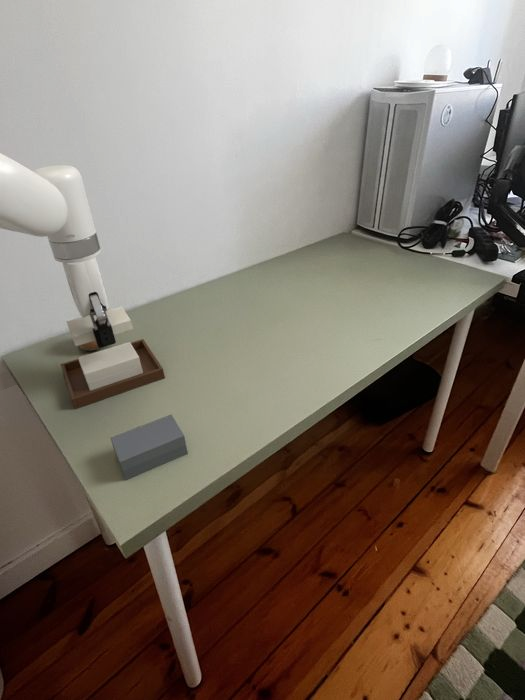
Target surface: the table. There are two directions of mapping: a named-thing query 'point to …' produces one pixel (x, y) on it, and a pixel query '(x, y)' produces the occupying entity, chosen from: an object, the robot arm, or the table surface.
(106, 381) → the white book lower
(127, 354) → the white book upper
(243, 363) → the table surface
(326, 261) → the table surface
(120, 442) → the grey book upper
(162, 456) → the grey book lower
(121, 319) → the white book
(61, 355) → the table surface
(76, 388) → the book tray
